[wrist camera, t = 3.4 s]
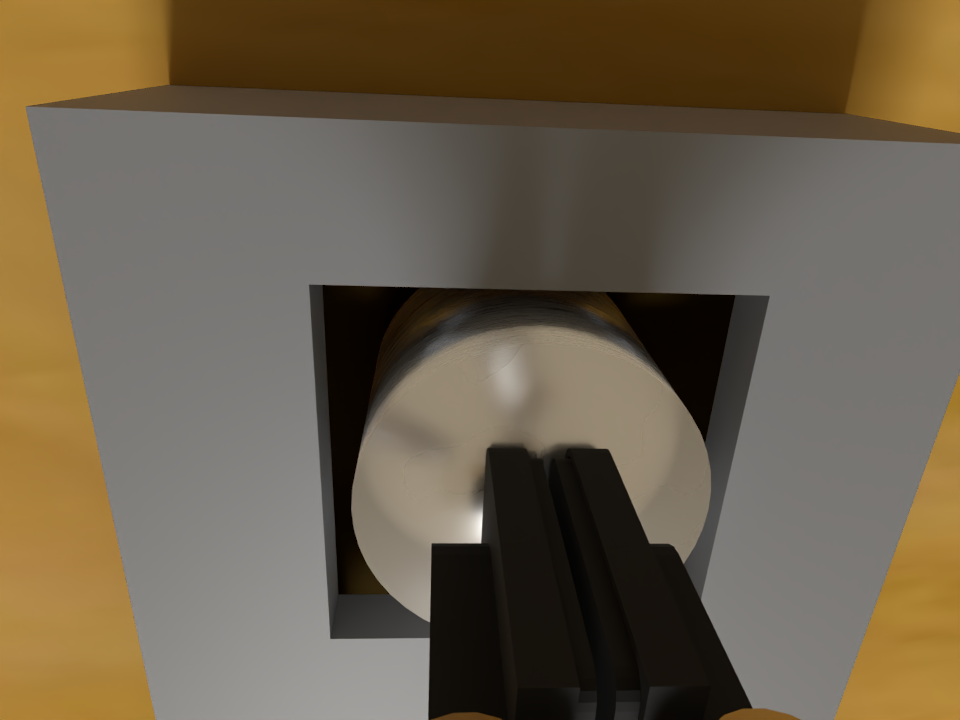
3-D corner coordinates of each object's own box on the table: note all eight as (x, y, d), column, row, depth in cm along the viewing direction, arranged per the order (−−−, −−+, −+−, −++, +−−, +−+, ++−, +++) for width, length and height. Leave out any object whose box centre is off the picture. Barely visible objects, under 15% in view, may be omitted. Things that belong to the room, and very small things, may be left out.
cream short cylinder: (372, 251, 12) (344, 340, 8) (654, 258, 12) (743, 348, 9) (377, 490, 14) (356, 644, 11) (619, 491, 14) (679, 641, 11)
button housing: (168, 85, 12) (26, 107, 8) (846, 114, 13) (1041, 147, 9) (271, 871, 21) (230, 1072, 17) (663, 858, 22) (715, 1047, 18)
